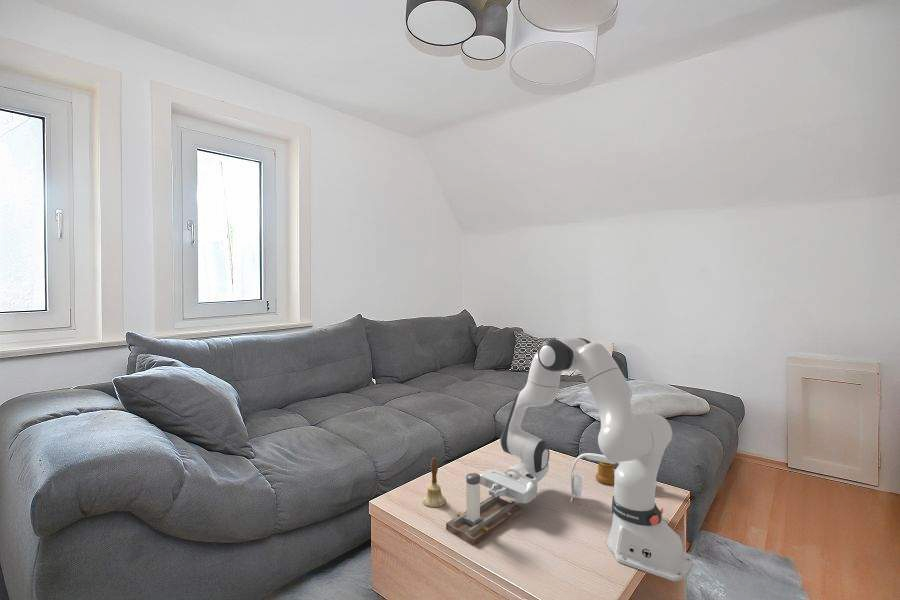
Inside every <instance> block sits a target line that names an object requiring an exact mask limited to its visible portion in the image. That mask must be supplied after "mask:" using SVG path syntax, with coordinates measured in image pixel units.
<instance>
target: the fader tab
mask: <svg viewBox="0 0 900 600" xmlns="http://www.w3.org/2000/svg"><path fill="white" fill-rule="evenodd" d="M465 483H466V484H465V485H466V503H465V504H466V511H465V512H466V516H465V517H463V521H464V522H466V523H468V524H469V525H471V526H475V525H476V524H478V523H479V522H481V521H482V520H483V518H481V517H480V503H481V484H480V473H479V474H478V473H475V472H471V473H468V474H466V475H465Z"/></svg>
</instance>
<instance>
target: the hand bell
mask: <svg viewBox="0 0 900 600" xmlns="http://www.w3.org/2000/svg"><path fill="white" fill-rule="evenodd" d="M438 470H439V463H438V461H437V457H432V459H431V463H430V472H431V484H428V486H427V492H426V495H425V496H424V497H423V499H422V500H421V501H422V504H423V505H424V506H425V507H429V508H439V507H442V506H443V505H445V504H446V500H447V499H446V498H445V496H443V493H442V490H441V485H440V484H438V482H437V481H438V479H437V478H438V477H437V475H438Z"/></svg>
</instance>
